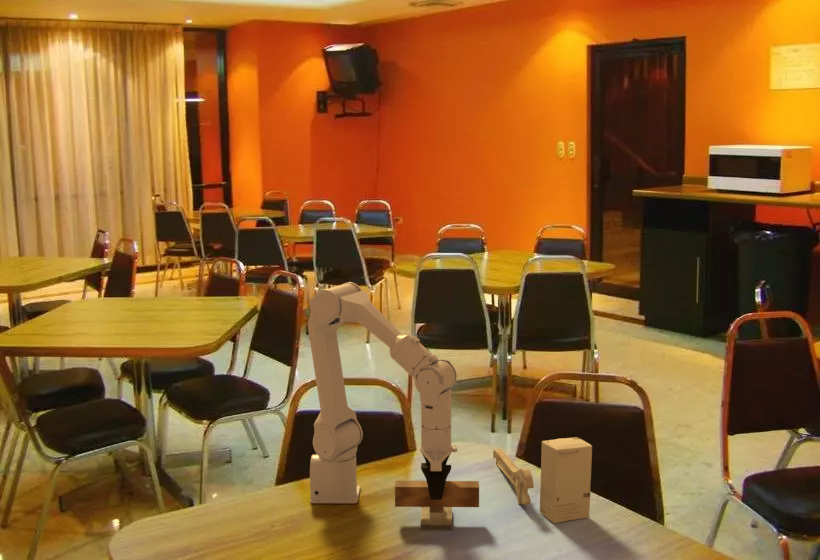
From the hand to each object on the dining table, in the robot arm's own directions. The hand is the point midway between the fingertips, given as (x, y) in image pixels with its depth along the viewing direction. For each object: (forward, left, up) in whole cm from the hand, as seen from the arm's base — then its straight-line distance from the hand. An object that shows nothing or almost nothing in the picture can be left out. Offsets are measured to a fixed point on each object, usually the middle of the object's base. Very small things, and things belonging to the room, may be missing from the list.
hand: (436, 492), depth 172 cm
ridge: (0, 0, -6) cm, 6 cm away
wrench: (+16, +17, -6) cm, 24 cm away
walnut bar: (0, 0, -2) cm, 2 cm away
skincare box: (+25, +3, -6) cm, 26 cm away
